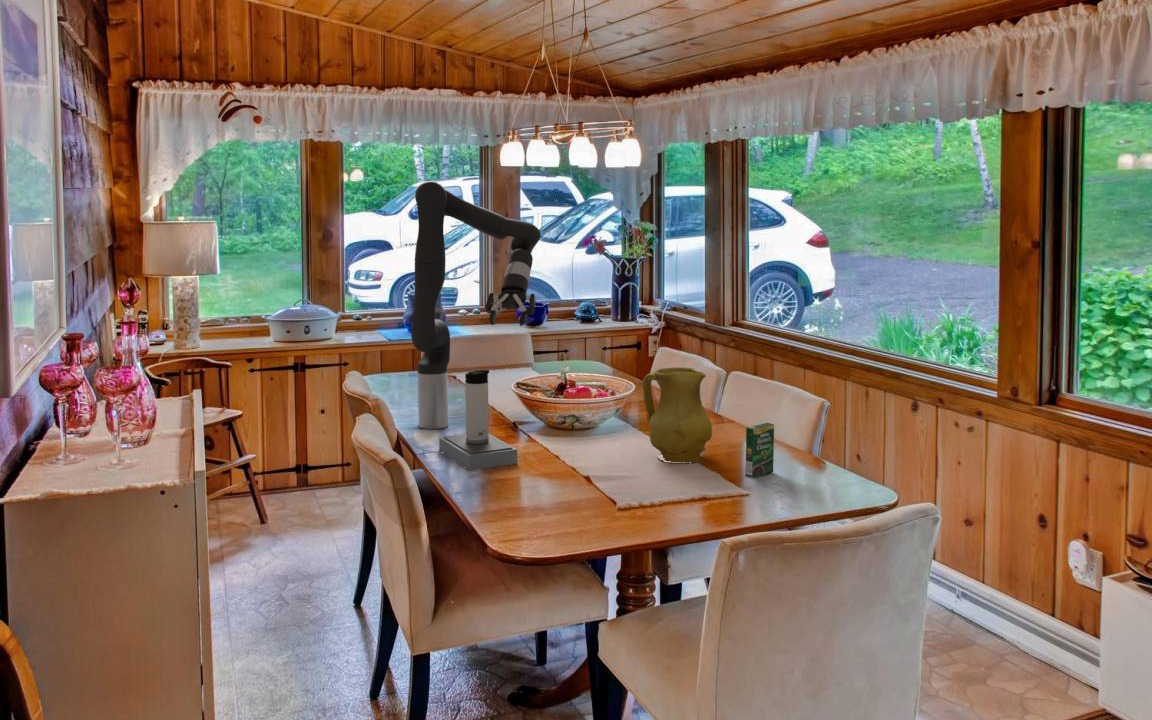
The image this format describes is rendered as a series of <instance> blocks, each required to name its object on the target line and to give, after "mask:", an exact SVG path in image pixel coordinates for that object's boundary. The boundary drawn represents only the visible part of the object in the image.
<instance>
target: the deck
mask: <svg viewBox="0 0 1152 720" xmlns="http://www.w3.org/2000/svg"><path fill="white" fill-rule="evenodd" d="M488 436H489V441H488V442H487V443H483V444H470V443H467V442H466V433H461V434H454V435H453V434H452V435H445V436H440V437H438V439H439V441H438V442H439V443H438V447H439V449H438V450H439V452H440V451H441V452H443V453H444V454H445V455H444V454H443V453H442V454H443V455H444V456H446V455H447V456H448V458H449V457H450V458H449V459H450V460H452V459H453V460H452V461H454V462H455V461H456V462H455V463H456V464H458V463H459V464H458V465H460V466H461V465H462V466H461V467H463V468H464V467H465V468H464V469H466V470H467V469H468V470H467V471H469V472H470V470H471V471H476V470H477V469H478V470H484V468H485V469H489V468H495V467H496V468H497V467H503V466H511V465H517V464H518V448H516V447H514V446H512V445H511V444H508V443H507V442H505V441H503V440H502V439H499V438H498V437H495V436H493V435H492V434H490V433H489V435H488ZM441 452H440V453H441ZM447 456H446V457H447Z"/></svg>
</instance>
